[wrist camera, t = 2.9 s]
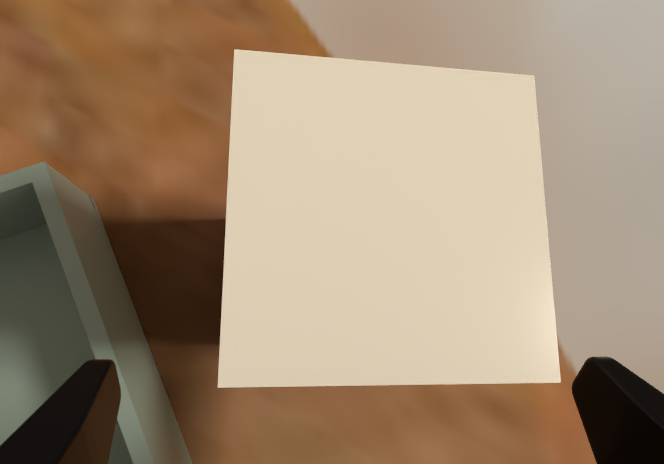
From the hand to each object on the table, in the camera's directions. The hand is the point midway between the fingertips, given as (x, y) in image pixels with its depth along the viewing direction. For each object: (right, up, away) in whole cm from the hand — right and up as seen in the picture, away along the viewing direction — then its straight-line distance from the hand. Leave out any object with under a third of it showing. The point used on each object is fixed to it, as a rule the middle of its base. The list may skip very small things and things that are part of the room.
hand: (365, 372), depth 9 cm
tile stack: (-1, +1, +10) cm, 10 cm away
